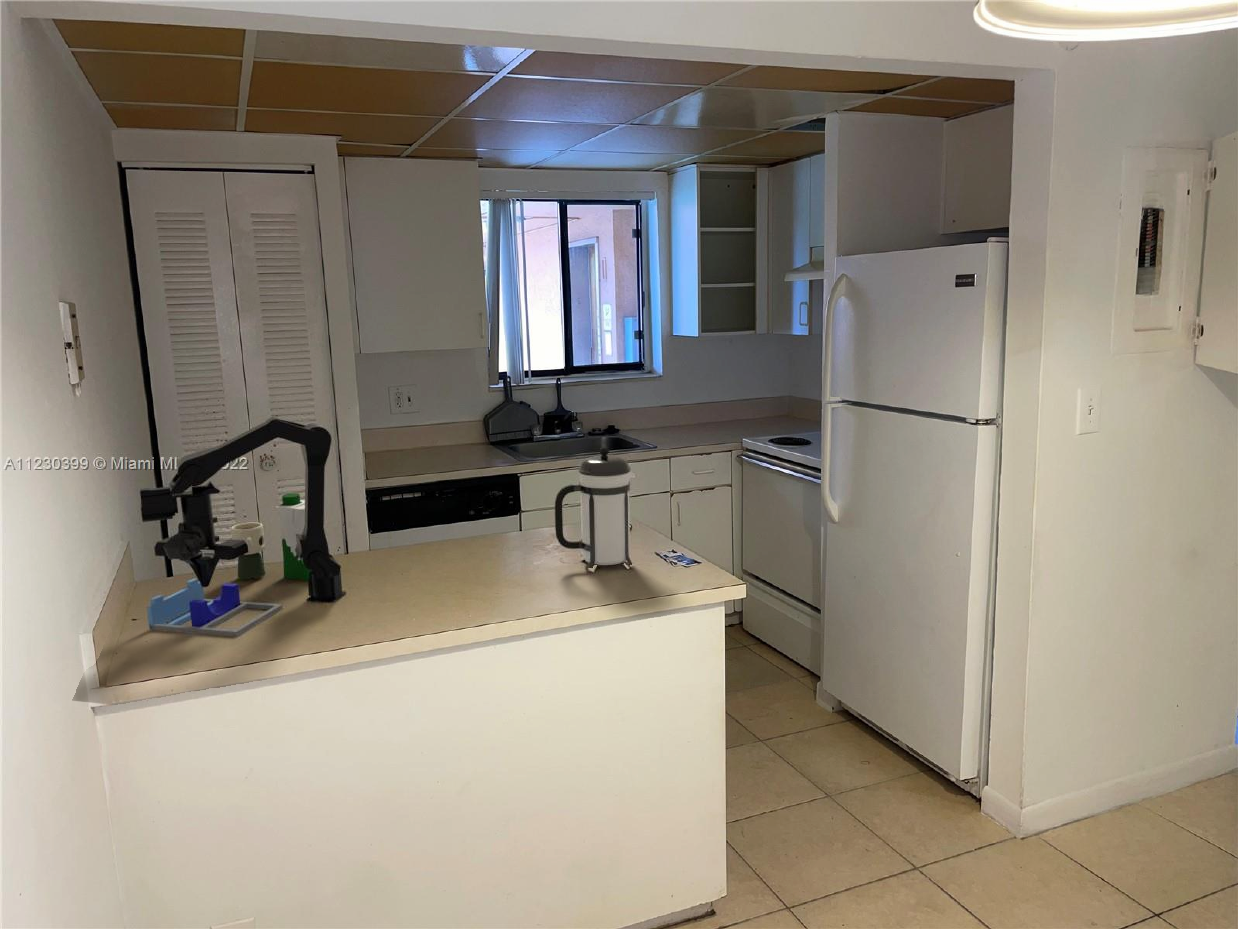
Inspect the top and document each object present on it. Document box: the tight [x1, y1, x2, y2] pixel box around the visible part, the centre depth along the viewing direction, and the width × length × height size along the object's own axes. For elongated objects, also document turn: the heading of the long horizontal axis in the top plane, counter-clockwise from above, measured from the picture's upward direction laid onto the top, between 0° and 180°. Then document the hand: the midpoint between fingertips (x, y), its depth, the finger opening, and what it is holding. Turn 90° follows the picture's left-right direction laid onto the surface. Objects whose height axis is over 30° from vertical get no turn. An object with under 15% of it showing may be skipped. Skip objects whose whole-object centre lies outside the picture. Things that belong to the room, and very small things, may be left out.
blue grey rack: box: [146, 578, 284, 637], centre depth 188 cm, size 20×16×6 cm
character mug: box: [230, 522, 266, 580], centre depth 215 cm, size 11×7×13 cm, turn 26°
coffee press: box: [554, 446, 636, 569], centre depth 218 cm, size 17×16×30 cm
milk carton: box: [275, 493, 313, 581], centre depth 215 cm, size 9×9×20 cm
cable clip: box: [189, 582, 241, 627], centre depth 189 cm, size 12×4×6 cm, turn 168°
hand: (205, 586), depth 188 cm, fingers closed
